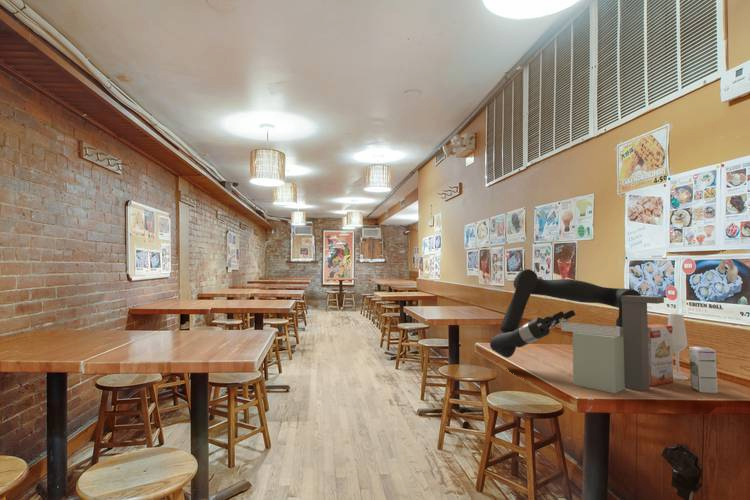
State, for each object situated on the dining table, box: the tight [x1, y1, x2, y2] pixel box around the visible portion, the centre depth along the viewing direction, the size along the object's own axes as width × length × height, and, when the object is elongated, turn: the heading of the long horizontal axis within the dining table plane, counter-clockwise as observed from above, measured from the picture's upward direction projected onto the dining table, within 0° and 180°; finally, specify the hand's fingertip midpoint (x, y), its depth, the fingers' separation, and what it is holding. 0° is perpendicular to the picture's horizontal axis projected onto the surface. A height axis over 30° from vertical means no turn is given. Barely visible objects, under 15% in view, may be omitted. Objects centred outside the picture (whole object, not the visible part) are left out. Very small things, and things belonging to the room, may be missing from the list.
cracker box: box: [648, 323, 674, 387], centre depth 155 cm, size 14×6×21 cm, turn 117°
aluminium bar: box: [560, 321, 623, 337], centre depth 151 cm, size 20×3×3 cm, turn 41°
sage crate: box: [572, 332, 626, 394], centre depth 149 cm, size 14×8×18 cm, turn 40°
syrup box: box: [688, 346, 719, 394], centre depth 145 cm, size 6×6×14 cm
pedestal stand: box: [621, 295, 665, 392], centre depth 146 cm, size 11×7×32 cm, turn 40°
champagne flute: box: [667, 313, 689, 381], centre depth 163 cm, size 7×7×24 cm
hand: (568, 313), depth 157 cm, fingers open, 8 cm apart
